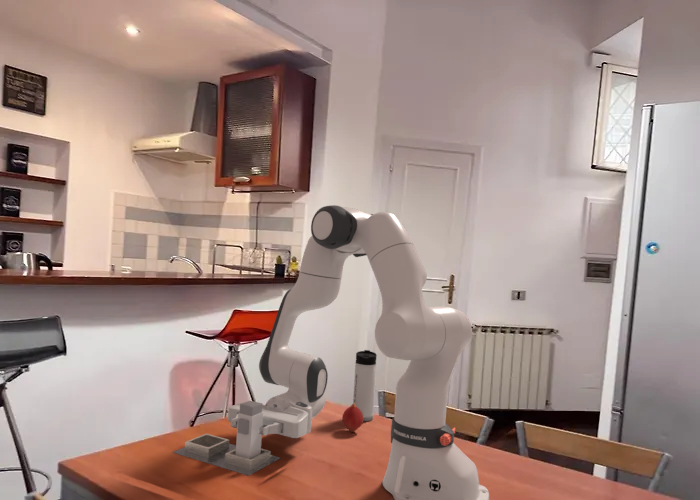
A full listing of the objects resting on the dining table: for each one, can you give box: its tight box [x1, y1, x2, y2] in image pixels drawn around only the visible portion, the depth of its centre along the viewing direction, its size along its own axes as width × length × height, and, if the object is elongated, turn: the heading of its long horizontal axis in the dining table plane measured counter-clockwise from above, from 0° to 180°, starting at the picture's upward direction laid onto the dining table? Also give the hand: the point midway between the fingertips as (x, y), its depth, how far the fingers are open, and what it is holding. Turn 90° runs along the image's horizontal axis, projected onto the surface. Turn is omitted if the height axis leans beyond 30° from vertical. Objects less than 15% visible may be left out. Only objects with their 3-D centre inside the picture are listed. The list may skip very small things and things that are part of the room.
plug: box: [235, 400, 263, 460], centre depth 121 cm, size 4×5×13 cm
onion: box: [342, 402, 364, 433], centre depth 148 cm, size 6×6×8 cm
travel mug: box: [352, 349, 378, 422], centre depth 161 cm, size 6×7×20 cm
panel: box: [172, 433, 281, 477], centre depth 124 cm, size 22×12×3 cm, turn 63°
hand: (247, 427), depth 120 cm, fingers open, 7 cm apart
